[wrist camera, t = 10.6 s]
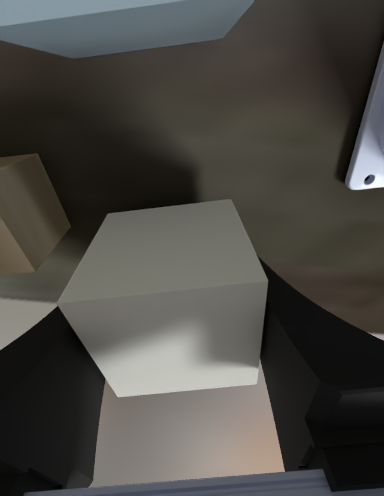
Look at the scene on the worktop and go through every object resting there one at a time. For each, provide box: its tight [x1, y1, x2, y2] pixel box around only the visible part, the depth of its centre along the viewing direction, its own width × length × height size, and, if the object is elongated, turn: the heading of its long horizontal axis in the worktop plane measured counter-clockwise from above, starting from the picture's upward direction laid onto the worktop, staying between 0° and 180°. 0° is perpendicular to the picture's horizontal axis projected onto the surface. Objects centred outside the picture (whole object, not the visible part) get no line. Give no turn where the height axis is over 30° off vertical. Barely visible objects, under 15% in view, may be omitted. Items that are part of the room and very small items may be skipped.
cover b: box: [57, 199, 268, 397], centre depth 10 cm, size 6×6×6 cm
